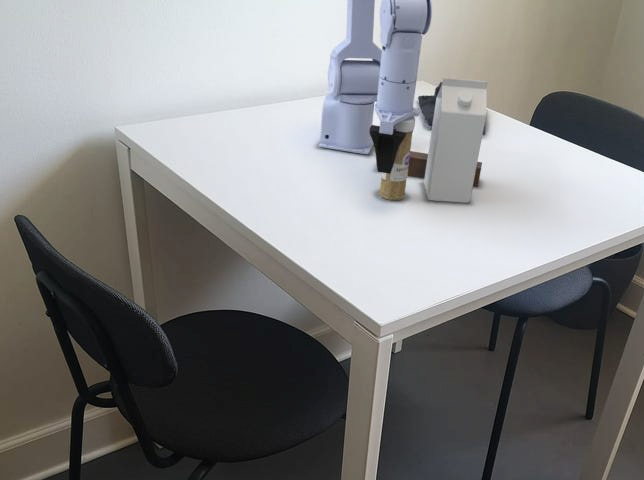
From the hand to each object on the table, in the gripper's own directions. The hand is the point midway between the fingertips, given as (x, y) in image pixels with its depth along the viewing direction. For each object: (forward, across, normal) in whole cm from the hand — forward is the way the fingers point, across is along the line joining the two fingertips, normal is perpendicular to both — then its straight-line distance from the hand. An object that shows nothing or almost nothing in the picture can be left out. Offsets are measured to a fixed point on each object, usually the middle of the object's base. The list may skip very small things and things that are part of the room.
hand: (388, 163), depth 117 cm
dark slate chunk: (+6, +46, -7) cm, 46 cm away
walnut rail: (+5, +11, -6) cm, 14 cm away
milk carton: (+6, +4, -10) cm, 12 cm away
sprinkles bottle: (+6, 0, -1) cm, 6 cm away
